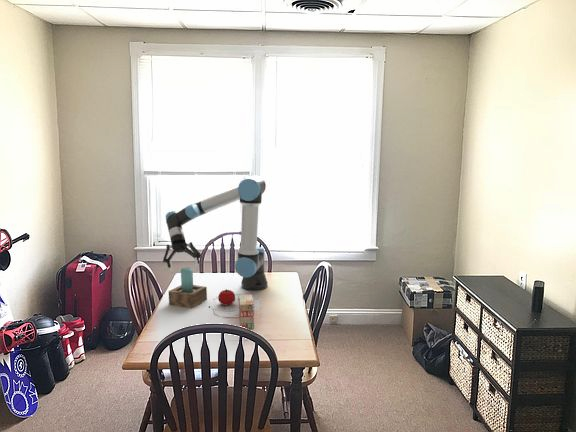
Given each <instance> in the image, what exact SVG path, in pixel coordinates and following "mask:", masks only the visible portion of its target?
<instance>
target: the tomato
mask: <svg viewBox="0 0 576 432" xmlns="http://www.w3.org/2000/svg"><path fill="white" fill-rule="evenodd" d="M217 298H218V299H217V300H218V302H219V303H220V304H221V305H224V306H230V305H232V304H233V303H234V302H235V300H236V294H235V293H234V291H232V290H231V289H227V288H225V289H224V290H221V291H219V294H218V296H217Z"/></svg>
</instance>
